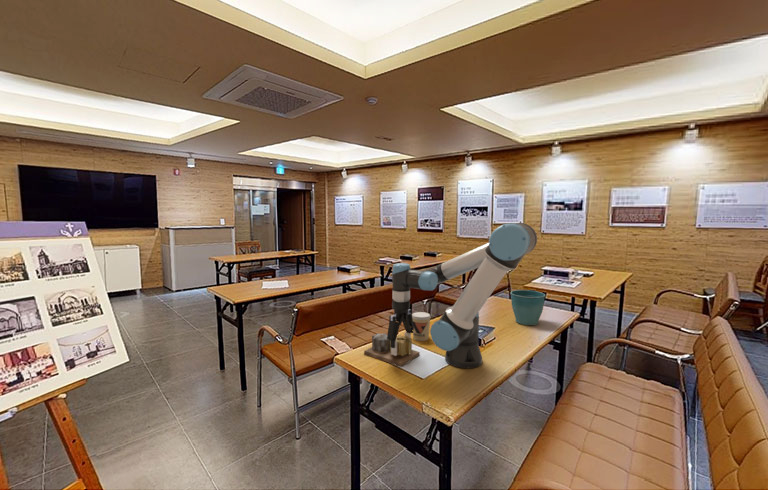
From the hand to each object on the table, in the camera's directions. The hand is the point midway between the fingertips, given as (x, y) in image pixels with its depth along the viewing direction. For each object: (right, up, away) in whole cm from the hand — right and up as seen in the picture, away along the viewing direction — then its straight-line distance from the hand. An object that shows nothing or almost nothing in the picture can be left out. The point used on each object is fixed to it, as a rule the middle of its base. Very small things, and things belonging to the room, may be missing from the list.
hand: (400, 350), depth 142 cm
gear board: (-4, -3, +3) cm, 6 cm away
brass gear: (0, 0, 0) cm, 0 cm away
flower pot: (+74, +1, +47) cm, 88 cm away
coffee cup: (+11, -1, +23) cm, 26 cm away
